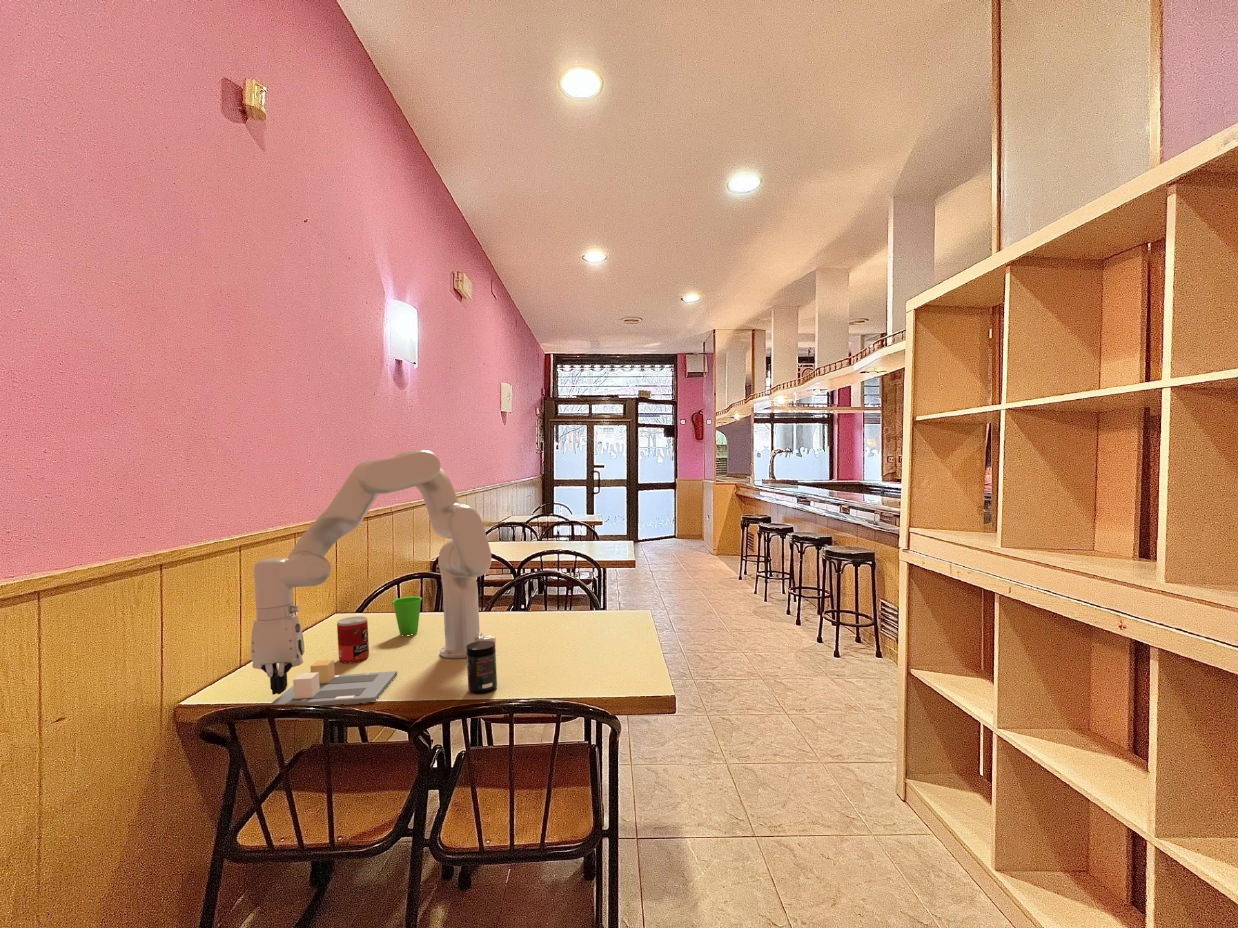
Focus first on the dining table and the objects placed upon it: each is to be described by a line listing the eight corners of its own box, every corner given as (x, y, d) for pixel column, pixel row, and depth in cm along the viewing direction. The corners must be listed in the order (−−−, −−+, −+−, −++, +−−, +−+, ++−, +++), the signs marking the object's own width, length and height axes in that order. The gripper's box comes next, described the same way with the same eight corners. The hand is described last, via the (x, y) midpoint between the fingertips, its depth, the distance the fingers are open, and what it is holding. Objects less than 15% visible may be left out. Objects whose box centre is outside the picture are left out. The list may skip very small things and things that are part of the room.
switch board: (397, 675, 153) (397, 670, 153) (375, 702, 136) (374, 696, 136) (303, 682, 151) (303, 676, 151) (269, 709, 134) (269, 704, 134)
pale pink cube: (319, 690, 141) (318, 672, 141) (312, 697, 137) (311, 678, 137) (302, 691, 141) (301, 673, 141) (294, 698, 137) (293, 679, 137)
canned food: (358, 663, 164) (356, 623, 164) (332, 663, 165) (330, 623, 165) (375, 654, 171) (373, 616, 171) (350, 654, 173) (348, 615, 173)
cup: (418, 637, 186) (416, 602, 186) (388, 639, 186) (387, 603, 186) (427, 629, 195) (426, 595, 195) (399, 630, 195) (398, 596, 195)
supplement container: (489, 681, 146) (487, 638, 146) (502, 689, 141) (500, 644, 141) (463, 689, 142) (461, 645, 142) (476, 697, 136) (474, 651, 136)
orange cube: (334, 677, 150) (334, 659, 150) (328, 682, 146) (327, 664, 146) (318, 678, 150) (317, 660, 150) (311, 684, 146) (310, 666, 146)
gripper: (316, 606, 142) (319, 683, 143) (250, 610, 141) (254, 688, 142) (301, 614, 135) (305, 696, 135) (232, 618, 134) (236, 700, 134)
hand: (279, 691), depth 138 cm, fingers closed
